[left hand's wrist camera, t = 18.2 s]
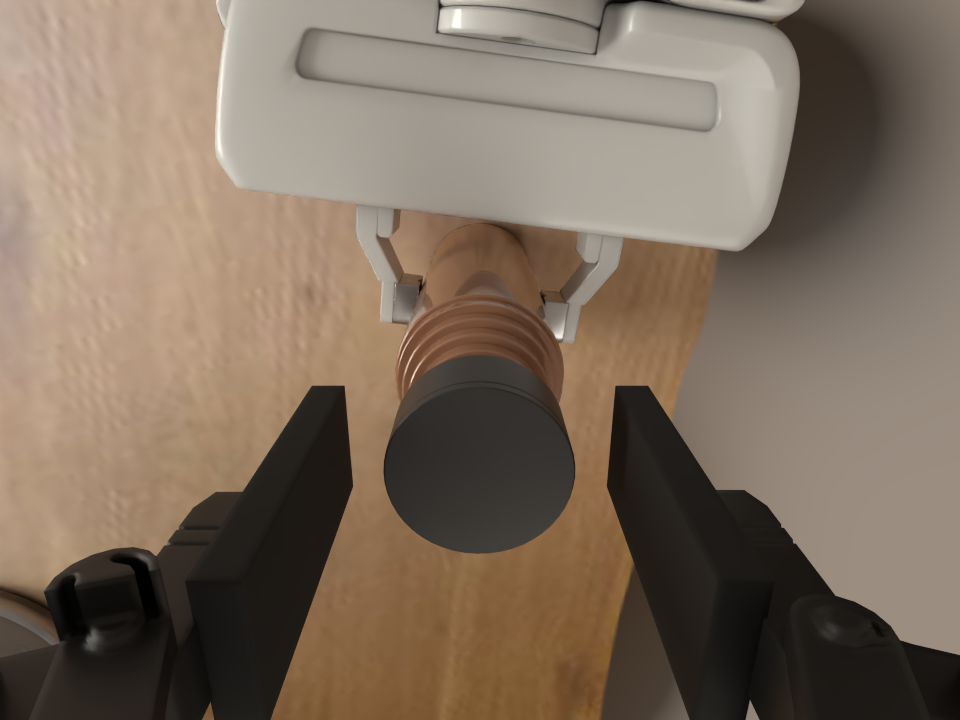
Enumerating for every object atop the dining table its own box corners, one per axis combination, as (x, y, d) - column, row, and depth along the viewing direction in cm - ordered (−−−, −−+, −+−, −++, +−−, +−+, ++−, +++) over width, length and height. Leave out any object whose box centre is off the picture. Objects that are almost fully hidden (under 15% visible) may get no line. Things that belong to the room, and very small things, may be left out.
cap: (360, 416, 15) (343, 456, 13) (499, 320, 14) (502, 349, 12) (461, 531, 16) (459, 583, 14) (596, 450, 15) (611, 493, 13)
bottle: (534, 227, 30) (610, 366, 13) (523, 323, 32) (576, 564, 14) (433, 218, 30) (367, 346, 12) (428, 316, 32) (363, 549, 14)
